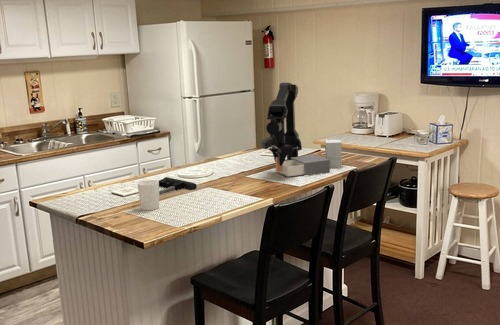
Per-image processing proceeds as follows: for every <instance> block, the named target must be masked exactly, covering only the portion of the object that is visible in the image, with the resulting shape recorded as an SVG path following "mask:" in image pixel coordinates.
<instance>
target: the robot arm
mask: <svg viewBox="0 0 500 325" xmlns="http://www.w3.org/2000/svg"><path fill="white" fill-rule="evenodd" d="M278 87H279V88H278V91H277V93H276V94H277V95H276V98H275V99H274V100H272V101H271V103H270V105H269V106H268V110H267V111H268V112H267V118H266V119H267V120H270V122H268V123H267V124H266V127H265V128H266V132H267V133H268V134H269V136H268V137H265V138H264V139H262V140H260V141H259V143H260V146H261V148H262V149H264V150H268V151H269V152H271V153H272V156H273V159H274V162H275V164H276V157H279V164H280V166H282V165H283V163H284V161H289V160H291V157H299V151H301V150H303V149H302V148H303V146H302V141H301V139H300V136H299V133H298V132H297V130H296V115H295V114H296V113H295V100H296V99H297V97H298V94H299V87H298V86H297V85H296V84H292V83H291V82H280V83H279V86H278ZM285 127H286V128H285ZM285 129H286V131H285Z"/></svg>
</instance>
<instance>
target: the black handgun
mask: <svg viewBox="0 0 500 325" xmlns="http://www.w3.org/2000/svg"><path fill="white" fill-rule="evenodd" d="M158 181H159V188H163V189H161V190H160V189H159V195H164V194H167V193H168V194H169V193H171V192H175V191H180V190H182V189H187V190H188V189H189V190H196V189H197V184H196V183H195V182H192V181H188V180H187V181H186V180H183V179H178V178H173V177H168V176H166V177H164V178H163V179H162V178H161V179H159V180H158Z"/></svg>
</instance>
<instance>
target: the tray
mask: <svg viewBox="0 0 500 325" xmlns="http://www.w3.org/2000/svg"><path fill="white" fill-rule="evenodd" d="M275 172H277V173H280V174H281V175H283V176H285V177H294V176H301V175H302V176H304V175H303V174H305V171H304V164H303V163H301V162H298V161H296V160H289V161H284V163H283V165H282V166H280V164H279V157H276V163H275Z"/></svg>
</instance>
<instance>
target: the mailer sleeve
mask: <svg viewBox="0 0 500 325" xmlns="http://www.w3.org/2000/svg"><path fill="white" fill-rule="evenodd" d="M291 160H296V161H298V162H301V163H303V164H304V171H305V174H303V175H302V176H304V175H309V176H314V175H313V174H316V175H321V173H323V174H328V173H329V172H330V173H331V168H330V160H329V159H326V157H322V156H319V155H316V154H311V155H310V154H309V155H302V156H298V157H291Z"/></svg>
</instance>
